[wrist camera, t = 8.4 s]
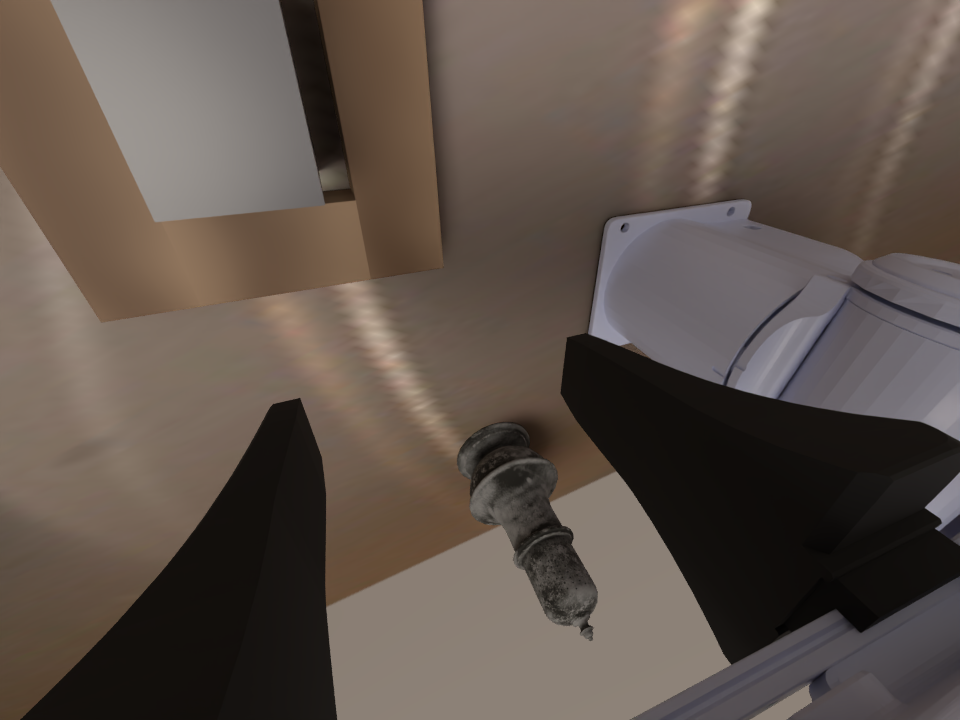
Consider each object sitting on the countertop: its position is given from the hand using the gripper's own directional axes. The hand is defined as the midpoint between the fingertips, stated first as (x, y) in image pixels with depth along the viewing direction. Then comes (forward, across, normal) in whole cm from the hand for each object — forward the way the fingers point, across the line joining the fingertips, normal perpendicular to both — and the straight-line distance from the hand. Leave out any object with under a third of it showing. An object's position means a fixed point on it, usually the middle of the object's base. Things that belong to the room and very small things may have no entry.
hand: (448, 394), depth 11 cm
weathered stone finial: (+10, -5, +14) cm, 18 cm away
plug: (+10, +4, -7) cm, 12 cm away
